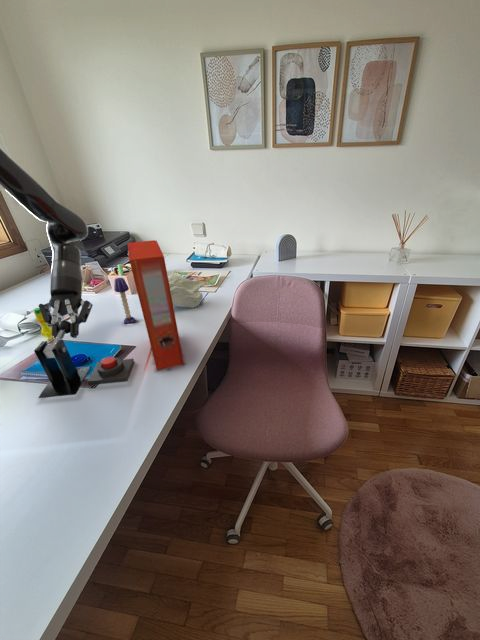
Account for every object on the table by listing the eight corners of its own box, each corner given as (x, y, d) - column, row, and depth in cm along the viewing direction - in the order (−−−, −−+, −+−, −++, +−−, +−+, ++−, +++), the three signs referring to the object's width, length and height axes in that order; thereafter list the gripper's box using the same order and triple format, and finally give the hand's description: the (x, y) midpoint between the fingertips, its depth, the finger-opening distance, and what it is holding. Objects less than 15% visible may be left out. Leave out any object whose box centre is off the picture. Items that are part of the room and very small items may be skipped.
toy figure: (47, 336, 104) (31, 304, 98) (58, 334, 105) (44, 302, 99) (45, 345, 99) (28, 313, 92) (57, 343, 100) (42, 310, 94)
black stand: (59, 372, 87) (41, 334, 80) (92, 369, 88) (76, 331, 81) (40, 400, 77) (16, 360, 70) (77, 397, 78) (57, 356, 71)
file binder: (176, 336, 103) (156, 239, 85) (185, 364, 89) (163, 255, 71) (151, 341, 100) (126, 243, 82) (157, 370, 87) (127, 260, 69)
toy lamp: (132, 317, 115) (119, 275, 106) (140, 320, 113) (128, 277, 104) (121, 323, 111) (108, 280, 102) (130, 326, 109) (117, 282, 100)
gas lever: (63, 328, 86) (58, 318, 84) (77, 327, 86) (71, 317, 84) (45, 360, 76) (38, 349, 74) (60, 359, 77) (53, 348, 74)
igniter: (101, 369, 81) (98, 364, 80) (104, 362, 84) (103, 357, 83) (114, 368, 82) (112, 363, 81) (118, 361, 85) (116, 355, 84)
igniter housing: (89, 387, 81) (84, 376, 79) (100, 367, 88) (95, 356, 86) (128, 384, 82) (124, 372, 80) (135, 364, 89) (131, 353, 87)
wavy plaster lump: (192, 315, 130) (201, 280, 128) (198, 320, 119) (208, 282, 116) (149, 305, 123) (157, 267, 120) (151, 310, 111) (160, 268, 108)
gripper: (31, 276, 82) (29, 336, 79) (85, 272, 83) (85, 332, 80) (48, 287, 89) (46, 343, 86) (98, 284, 91) (98, 338, 87)
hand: (65, 337), depth 83 cm, fingers closed on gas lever, 3 cm apart
